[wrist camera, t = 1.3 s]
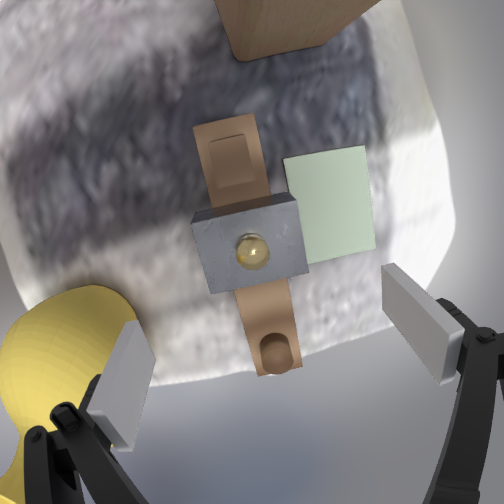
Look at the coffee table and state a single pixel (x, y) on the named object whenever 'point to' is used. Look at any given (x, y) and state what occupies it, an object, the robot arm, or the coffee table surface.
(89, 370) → the vase
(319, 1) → the wooden block
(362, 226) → the felt mat
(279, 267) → the lever cap
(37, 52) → the coffee table surface
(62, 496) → the robot arm
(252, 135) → the body
